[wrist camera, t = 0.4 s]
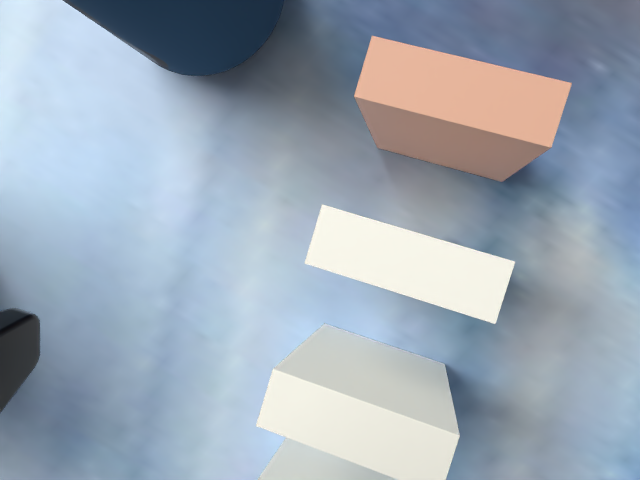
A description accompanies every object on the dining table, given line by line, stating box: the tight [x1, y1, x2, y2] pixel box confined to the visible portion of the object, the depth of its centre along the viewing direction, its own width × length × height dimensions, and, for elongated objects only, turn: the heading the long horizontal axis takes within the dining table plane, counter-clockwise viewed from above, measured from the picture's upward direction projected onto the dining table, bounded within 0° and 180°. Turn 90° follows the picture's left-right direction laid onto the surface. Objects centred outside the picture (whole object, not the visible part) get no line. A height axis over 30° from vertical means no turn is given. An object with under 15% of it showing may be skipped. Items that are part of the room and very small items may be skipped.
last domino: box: [354, 36, 572, 182], centre depth 18 cm, size 2×5×8 cm, turn 73°
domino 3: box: [256, 323, 460, 480], centre depth 18 cm, size 2×5×8 cm, turn 73°
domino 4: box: [305, 205, 515, 324], centre depth 18 cm, size 2×5×8 cm, turn 73°
